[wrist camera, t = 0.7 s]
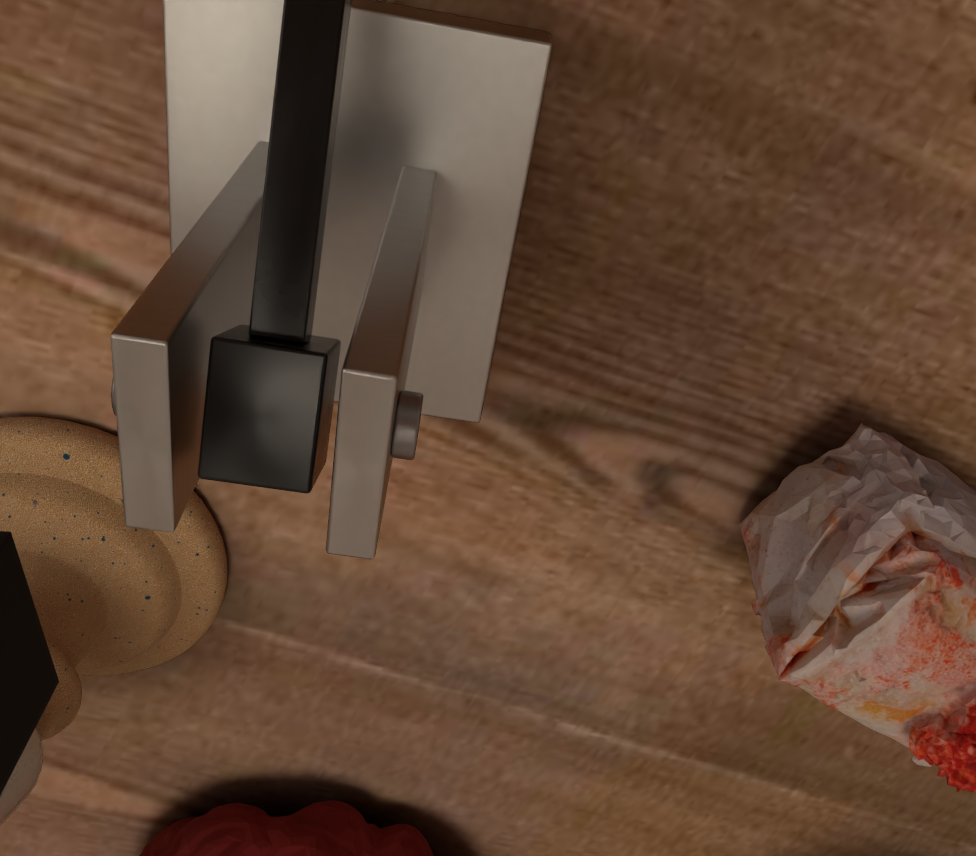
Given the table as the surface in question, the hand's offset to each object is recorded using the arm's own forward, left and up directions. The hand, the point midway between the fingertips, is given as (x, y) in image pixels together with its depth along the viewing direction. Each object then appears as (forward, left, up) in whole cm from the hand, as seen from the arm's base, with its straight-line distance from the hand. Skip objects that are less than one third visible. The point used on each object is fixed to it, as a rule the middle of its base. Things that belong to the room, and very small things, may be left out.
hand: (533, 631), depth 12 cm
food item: (-1, +20, -18) cm, 27 cm away
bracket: (+4, -3, -18) cm, 19 cm away
